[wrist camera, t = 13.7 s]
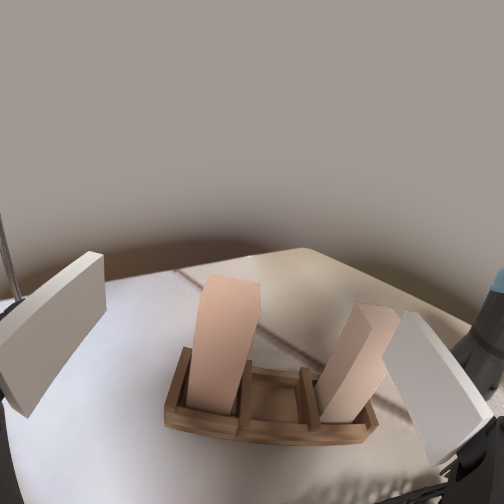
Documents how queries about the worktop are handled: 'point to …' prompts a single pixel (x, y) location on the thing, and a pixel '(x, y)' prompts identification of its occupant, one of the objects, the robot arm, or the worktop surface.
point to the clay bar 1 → (222, 342)
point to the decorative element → (399, 501)
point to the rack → (265, 410)
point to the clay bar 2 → (355, 364)
